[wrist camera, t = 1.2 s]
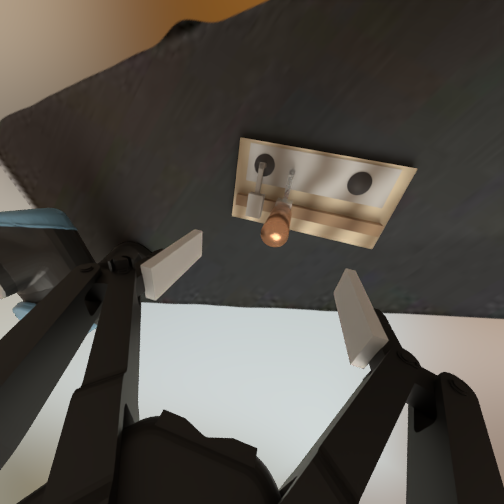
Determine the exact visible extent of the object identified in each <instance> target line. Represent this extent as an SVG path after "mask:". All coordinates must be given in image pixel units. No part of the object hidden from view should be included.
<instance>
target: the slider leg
mask: <svg viewBox="0 0 504 504" xmlns="http://www.w3.org/2000/svg"><path fill="white" fill-rule="evenodd" d="M294 174H295V169H294V168H290V171H289V176H288V180H287V184H286V189H285V193H284V197H283V199H282V198H278V199H277V201H276V204H275V207H274V208H273V209H272V211H271V213H270V215H269V217H268V218H267V220H266V222H265V224H264V226H263V227H262V230H261V238H262V240H263V241H264V243H265V244H267V245H268V246H271V247H279V246H282V245H283V244H285V242H286V241H287V239H288V235H289V229H290V223H291V216H292V213H291V207H292V203H293V201H291V200H288V197H289V193H290V189H291V185H292V181H293V177H294Z"/></svg>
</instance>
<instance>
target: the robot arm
mask: <svg viewBox="0 0 504 504" xmlns="http://www.w3.org/2000/svg"><path fill="white" fill-rule="evenodd" d="M201 256H202V231H200V230H196V229H194V230H193V231H191V232H190V233H188V234H187V235H185V236H184V237H182V238H181V239H179V240H178V241H176V242H175V243H173V244H172V245H170V246H169V247H167V248H166V249H159V250H156V251H154V252H152V253H151V252H150V251H149V250H148V249H146V248H145V247H143V246H141V245H139V244H137V243H133V242H125V243H122V244H120V245H118V246H116V247H114V248H113V249H112V250H111V252H110V253H109V254H108V255H107V256H106V257H105V258H104V259H103V260H102V261H101V262H99V263H98V264H97V263H96V262H95V261H94V259H93V257H92V256H91V254H90V252H89V251H88V249H87V247H86V245H85V244H84V242H83V240H82V238H81V237H80V235H79V233H78V231H77V228H76V227H74V225H73V224H72V223H71V221H70V220H69V218H68V217H67V215H66V214H65V213H64V212H63V211H61V210H59V209H55V208H41V209H28V210H16V211H5V212H0V299H3V298H5V297H8V296H10V295H12V294H15V293H17V294H18V295H19V296H20V297H21V298H22V299H23V302H20V303H18V304H17V305H16V306H15V307H14V308H13V313H15V316H16V317H17V318H18V319H19V320H20V321H19V322H18V323H17V324H16V325H15V326H14V327H13V328H12V329H11V330H10V331H9V332H8V333H7V334H6V335H5V336H4V337H3V338H2V339H1V340H0V470H1V468H2V467H3V466H4V464H5V463H6V462H7V460H8V459H9V458H10V456H11V455H12V454H13V452H14V451H15V450H16V448H17V446H18V445H19V444H20V442H21V440H22V439H23V437H24V436H25V434H26V433H27V431H28V430H29V428H30V427H31V425H32V423H33V421H34V420H35V418H36V417H37V415H38V413H39V412H40V410H41V409H42V407H43V405H44V404H45V402H46V400H47V399H48V397H49V396H50V394H51V392H52V391H53V389H54V387H55V386H56V384H57V382H58V381H59V379H60V378H61V376H62V374H63V373H64V371H65V369H66V368H67V366H68V365H69V363H70V361H71V360H72V358H73V357H74V355H75V353H76V352H77V350H78V348H79V347H80V345H81V343H82V342H83V340H84V338H85V337H86V335H87V334H88V333H89V332H91V331H92V330H94V329H96V332H95V336H94V340H93V344H92V348H91V352H90V356H89V360H88V364H87V368H86V372H85V376H84V380H83V383H82V386H81V387H80V388H79V389H76V390H75V392H74V393H73V395H72V398H71V400H70V404H69V408H68V411H67V415H66V418H65V422H64V425H63V429H62V432H61V436H60V439H59V443H58V447H57V450H56V454H55V457H54V460H53V464H52V467H51V471H50V475H49V478H48V482H47V483H46V484H44V485H43V486H41V487H40V488H38V489H37V490H35V491H34V492H33V493H31V494H30V495H28V496H27V497H25V498H24V499H22V500H21V501H20V502H18V503H17V504H359V501H360V498H361V496H362V494H363V492H364V490H365V488H366V486H367V483H368V481H369V479H370V477H371V475H372V473H373V471H374V468H375V466H376V464H377V462H378V460H379V458H380V456H381V454H382V452H383V449H384V447H385V445H386V443H387V441H388V439H389V437H390V435H391V432H392V430H393V428H394V426H395V424H396V422H397V420H398V418H399V415H400V413H401V411H402V409H403V407H404V405H405V403H407V404H408V447H407V491H406V504H504V487H503V483H502V480H501V476H500V473H499V470H498V466H497V463H496V459H495V456H494V452H493V449H492V445H491V442H490V439H489V436H488V432H487V428H486V425H485V422H484V419H483V415H482V412H481V408H480V405H479V401H478V398H477V397H476V394H475V393H474V392H473V390H472V389H471V388H470V387H469V386H468V385H467V384H466V383H465V382H464V381H462V380H461V379H459V378H458V377H456V376H455V375H452V374H451V373H447V372H443V373H440V374H439V375H438V376H437V375H435V374H433V373H432V372H430V371H428V370H426V369H424V368H422V367H421V366H420V364H419V362H418V360H417V359H416V358H415V357H414V356H413V355H412V354H411V353H410V352H408V351H407V350H405V349H403V348H402V347H401V345H400V343H399V341H398V339H397V337H396V335H395V333H394V332H393V330H392V328H391V326H390V324H389V322H388V320H387V319H386V317H385V315H384V314H383V313H382V312H381V311H380V310H378V309H375V308H373V307H372V304H371V302H370V300H369V298H368V296H367V294H366V292H365V290H364V288H363V286H362V284H361V281H360V279H359V277H358V275H357V273H356V271H354V270H350V269H345V271H344V273H343V275H342V277H341V279H340V281H339V283H338V285H337V287H336V289H335V291H334V297H335V302H336V306H337V310H338V314H339V318H340V323H341V327H342V331H343V335H344V339H345V344H346V348H347V352H348V356H349V360H350V364H351V365H353V366H356V367H360V368H362V369H364V368H365V367H366V366H367V365H368V364H369V365H370V368H371V371H370V372H369V373H368V374H367V375H366V377H365V378H364V379H363V381H362V383H361V384H360V385H359V387H358V388H357V389H356V390H355V392H354V393H353V394H352V396H351V397H350V398H349V400H348V401H347V402H346V404H345V405H344V406H343V407H342V409H341V410H340V411H339V413H338V414H337V415H336V417H335V418H334V419H333V421H332V422H331V423H330V425H329V426H328V427H327V429H326V430H325V431H324V433H323V434H322V435H321V436H320V438H319V439H318V441H317V442H316V443H315V444H314V446H313V447H312V448H311V450H310V451H309V452H308V454H307V455H306V456H305V458H304V459H303V460H302V462H301V463H300V464H299V465H298V467H297V468H296V469H295V471H294V472H293V473H292V474H291V475H290V477H289V478H288V479H287V480H286V481H285V482H284V484H283V485H282V487H281V488H280V489H279V490H278V488H277V485H276V483H275V481H274V479H273V477H272V475H271V474H270V472H269V470H268V469H267V467H266V466H265V465H264V464H263V462H262V461H261V460H260V459H259V458H258V457H257V456H256V454H257V448H255V447H253V446H250V445H248V444H245V443H243V442H241V441H238V440H236V439H234V438H208V437H205V436H204V435H202V434H201V433H200V432H199V431H198V430H197V429H196V428H195V427H194V426H193V425H192V424H191V423H190V422H189V421H187V420H186V419H185V418H183V417H181V416H178V415H176V414H173V413H171V412H169V411H166V410H163V412H162V413H161V415H160V416H155V417H149V418H145V419H143V420H140V421H139V409H138V381H139V351H140V322H141V294H142V293H143V292H145V294H146V298H149V299H152V300H155V301H156V300H157V299H158V298H159V297H160V296H161V295H162V294H163V293H164V292H165V291H166V290H167V289H168V288H169V287H170V286H171V285H172V284H173V283H174V282H175V281H176V280H178V279H179V278H180V277H181V276H182V275H183V274H184V273H185V272H186V271H187V270H188V269H189V268H190V267H191V266H192V265H193V264H194V263H195V262H196V261H197V260H198V259H199V258H200V257H201Z"/></svg>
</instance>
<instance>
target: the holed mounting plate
mask: <svg viewBox="0 0 504 504" xmlns="http://www.w3.org/2000/svg"><path fill="white" fill-rule="evenodd" d="M290 168H294V169H295V174H294V177H293V181H292V185H291V189H290V193H289V197H288V200H291V201H293V203H292V207H291V213H292V216H291V223H290V229H289V230H294V231H298V232H302V233H306V234H310V235H315V236H319V237H323V238H327V239H331V240H336V241H340V242H344V243H348V244H352V245H357V246H361V247H365V248H369V249H373V247H374V245H375V243H376V241H377V240H378V238H379V236H380V234H381V233H382V231H383V229H384V227H385V225H386V224H387V222H388V220H389V218H390V217H391V215H392V213H393V211H394V210H395V208H396V206H397V204H398V202H399V201H400V199H401V197H402V195H403V194H404V192H405V190H406V188H407V187H408V185H409V183H410V181H411V179H412V178H413V176H414V174H415V172H416V171H417V168H411V167H405V166H400V165H394V164H388V163H383V162H377V161H371V160H366V159H360V158H354V157H349V156H343V155H337V154H332V153H326V152H321V151H315V150H309V149H304V148H298V147H292V146H287V145H281V144H275V143H270V142H264V141H258V140H253V139H247V138H241V137H240V146H239V156H238V165H237V174H236V183H235V193H234V202H233V211H232V216H235V217H239V218H243V219H247V220H252V221H256V222H260V223H264V224H265V222H266V220H267V218H268V217H269V215H270V213H271V211H272V209H273V208H274V207H275V204H276V201H277V199H278V198H282V199H283V197H284V193H285V189H286V184H287V180H288V176H289V171H290Z"/></svg>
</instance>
